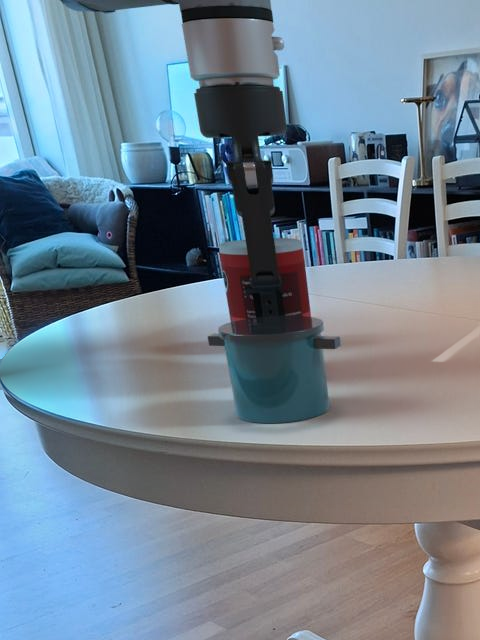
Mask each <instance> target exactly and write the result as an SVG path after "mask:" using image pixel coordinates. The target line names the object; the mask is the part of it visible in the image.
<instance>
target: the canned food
mask: <svg viewBox="0 0 480 640" xmlns="http://www.w3.org/2000/svg"><path fill="white" fill-rule="evenodd" d="M274 242H275V250H276V257H277V264H278V271H279V275H280V277H281V281H282V283H281V284H282V288H281V291H282V293H283V301H284V308H285V315H286V316H307V317H312V311H311V305H310V296H309V295H310V294H309V287H308V277H307V269H306V260H305V254H304V248H303V245H302V240H300V239H298V238H291V237H289V238H288V237H286V238H285V237H274ZM218 248H219V258H220V266H221V271H222V278H223V284H224V291H225V296H226V301H227V307H228V314H229V319H230V322H234V321H238V320H244V319H250V318H256V316H255V309H254V303H253V296H252V294H245V290H244V285H251V284H250V277H251V273H250V267H249V260H248V253H247V246H246V240H245V239H238V240H237V239H236V240H230V241H225V242H222V243H220V244H219V245H218Z"/></svg>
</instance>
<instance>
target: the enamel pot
mask: <svg viewBox="0 0 480 640" xmlns="http://www.w3.org/2000/svg"><path fill="white" fill-rule="evenodd" d="M324 330H325V323H324V320H323V319H320V318H318V317H313V316H311V317H307V316H269V317H258V318H250V319H244V320H238V321H234V322H231V321H230V322H227V323H225V324H222V325H220V326H219V327H218V329H217V332H218V333H212V334H210V335H207V341H208V346H209V347H224V350H225V351H224V352H225V357H226V362H227V363H226V364H227V369H228V374H229V380H230V386H231V393H232V399H233V403H234V409H235V415H236V417H237V418H238V419H240V420H241V421H246V422H249V423H257V424H282V423H283V424H284V423H292V422H293V423H294V422H300V421H305V420H309V419H312V418H313V419H314V418H316V417H319V416H321V415H323V414H324V413H325V414H326V412H328V411H329V409H330V408H331V407H330V398H329V390H328V379H327V374H326V363H325V354H324V350H336V349H339V348H340V347H341V346H342V345H341V337H340V336H339V335H338V336H335V335H322V333H323V332H324Z"/></svg>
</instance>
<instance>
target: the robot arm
mask: <svg viewBox="0 0 480 640" xmlns="http://www.w3.org/2000/svg"><path fill="white" fill-rule="evenodd" d="M59 1H60V2H61V4H63V5H64V6H65V7H66V8H68V9H70V10H72V11H76V12H91V13H92V12H94V13H95V12H97V13H103V14H112V13H115V12H116V11H120V10H129V9H130V10H131V9H138V8H147V7H155V6H165V5H166V6H167V5H178V6H179V11H180V15H181V21H182V22H181V27H182V28H181V29H182V34H183V39H184V40H183V41H184V45H185V52H186V58H187V63H188V69H189V75H190V78H191V79H192V80H193V81H195V82H198V85H199V88H196V89H195V92H194V93H193V95H194V101H195V108H196V114H197V120H198V121H197V122H198V125H199V127H198V128H199V132H200V134H201V135H202V136H203V137H205V138H207V139H223V138H226V139H227V138H231V140H232V147H233V149H232V150H233V155H234V161H225V166H226V174H227V178H228V182H229V185H230V186H231V188H232V194H233V200H234V207H235V211H236V214H237V216H239V217H241V219H242V226H243V232H244V240H246V246H247V253H248V260H249V267H250V273H251V277H250V284H251V285H244V290H245V294H252V296H253V303H254V309H255V316H256V318H258V317H269V316H286V315H285V308H284V301H283V293H282V291H281V288H282V284H281V283H282V281H281V277H280V275H279V271H278V264H277V257H276V250H275V242H274V238H275V235H274V228H273V221H272V216H273V215H274V214H275V211H276V208H275V207H276V206H275V199H274V192H273V184H274V172H273V163H272V160H271V159H268V160H267V159H265V160H263V159H262V155H261V147H260V141H259V140H260V139H259V137H277V136H283V135H285V134H286V133H287V131H288V125H287V118H286V109H285V108H286V107H285V100H284V92H283V90H281V87H280V86H276V85H274V80H277V79H279V77H280V75H281V74H280V73H281V72H280V65H279V57H278V55H277V53H276V52H275V51H283V50H284V49H285V43H284V40H283V38H282V37H281V36H273V34H274V32H275V27H274V16H273V10H272V3H271V0H59Z"/></svg>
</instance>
